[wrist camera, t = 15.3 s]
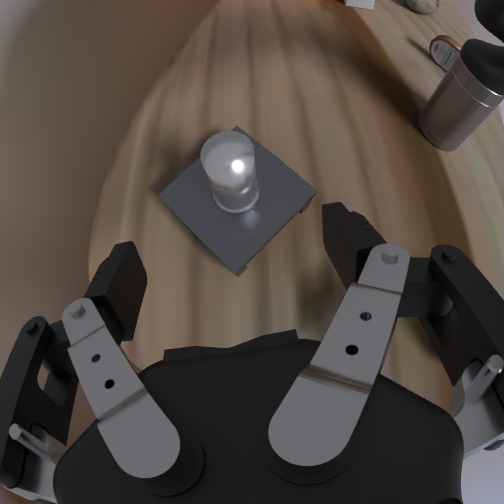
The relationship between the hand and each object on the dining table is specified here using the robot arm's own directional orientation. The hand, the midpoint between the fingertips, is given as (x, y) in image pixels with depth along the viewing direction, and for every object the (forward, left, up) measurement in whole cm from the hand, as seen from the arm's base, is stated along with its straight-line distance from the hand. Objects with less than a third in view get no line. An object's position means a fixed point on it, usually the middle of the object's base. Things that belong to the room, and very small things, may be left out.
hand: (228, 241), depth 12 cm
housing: (-7, -9, -22) cm, 25 cm away
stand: (-7, -9, -27) cm, 29 cm away
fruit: (-85, -19, -27) cm, 91 cm away
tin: (-63, 0, -27) cm, 68 cm away
